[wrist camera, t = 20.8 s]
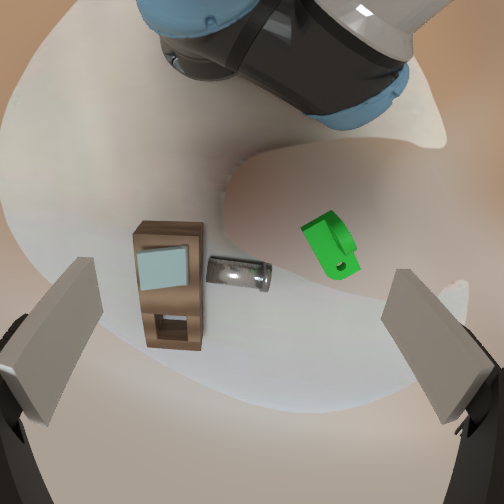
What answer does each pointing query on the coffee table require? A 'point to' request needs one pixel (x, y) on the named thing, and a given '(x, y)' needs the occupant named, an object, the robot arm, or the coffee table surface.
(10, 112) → the coffee table surface
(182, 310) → the block
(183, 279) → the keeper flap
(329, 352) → the coffee table surface
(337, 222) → the mechanical part
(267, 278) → the grey cylinder
